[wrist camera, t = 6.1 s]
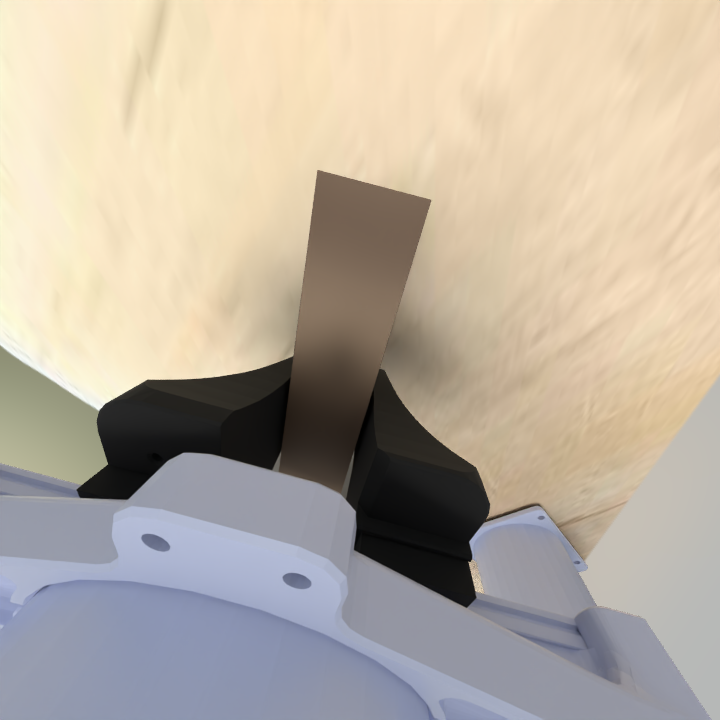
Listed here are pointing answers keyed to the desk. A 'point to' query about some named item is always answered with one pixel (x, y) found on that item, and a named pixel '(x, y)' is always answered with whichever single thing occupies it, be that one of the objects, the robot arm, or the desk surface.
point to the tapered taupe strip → (345, 319)
